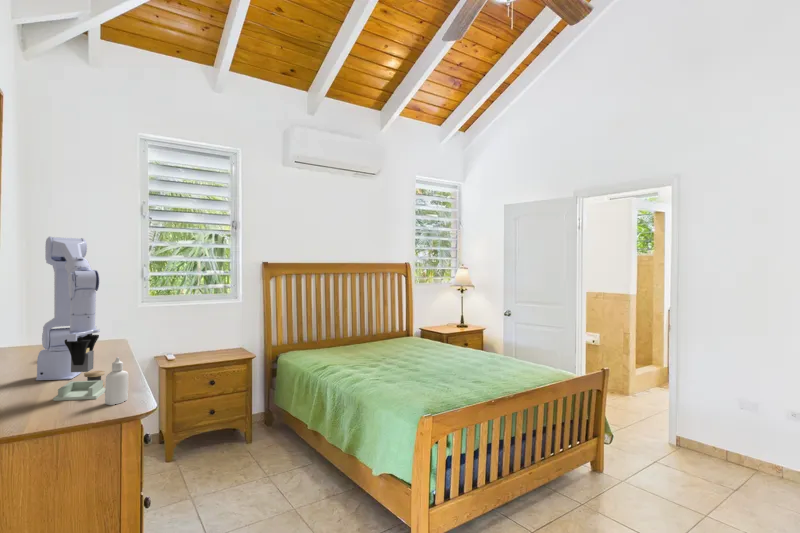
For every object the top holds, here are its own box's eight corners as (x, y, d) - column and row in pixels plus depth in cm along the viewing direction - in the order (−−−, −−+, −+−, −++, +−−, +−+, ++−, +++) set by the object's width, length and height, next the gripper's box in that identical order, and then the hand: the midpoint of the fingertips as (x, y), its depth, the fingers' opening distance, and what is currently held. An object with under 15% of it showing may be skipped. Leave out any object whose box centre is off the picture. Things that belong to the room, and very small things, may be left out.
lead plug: (70, 372, 123) (71, 350, 123) (76, 368, 127) (77, 347, 127) (87, 371, 124) (88, 350, 124) (93, 368, 128) (93, 347, 128)
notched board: (53, 400, 120) (53, 389, 120) (66, 392, 128) (66, 381, 128) (96, 398, 123) (96, 387, 123) (106, 390, 131) (107, 380, 131)
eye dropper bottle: (102, 402, 120) (103, 357, 120) (125, 398, 125) (127, 354, 124) (106, 406, 117) (107, 360, 117) (130, 402, 122) (132, 357, 121)
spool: (80, 388, 132) (81, 375, 132) (87, 384, 137) (88, 370, 136) (100, 388, 133) (100, 374, 133) (106, 383, 138) (106, 370, 138)
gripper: (89, 317, 120) (88, 368, 120) (108, 311, 134) (107, 357, 134) (58, 317, 118) (56, 369, 118) (80, 311, 132) (79, 357, 132)
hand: (81, 363), depth 126 cm, fingers closed on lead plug, 4 cm apart
